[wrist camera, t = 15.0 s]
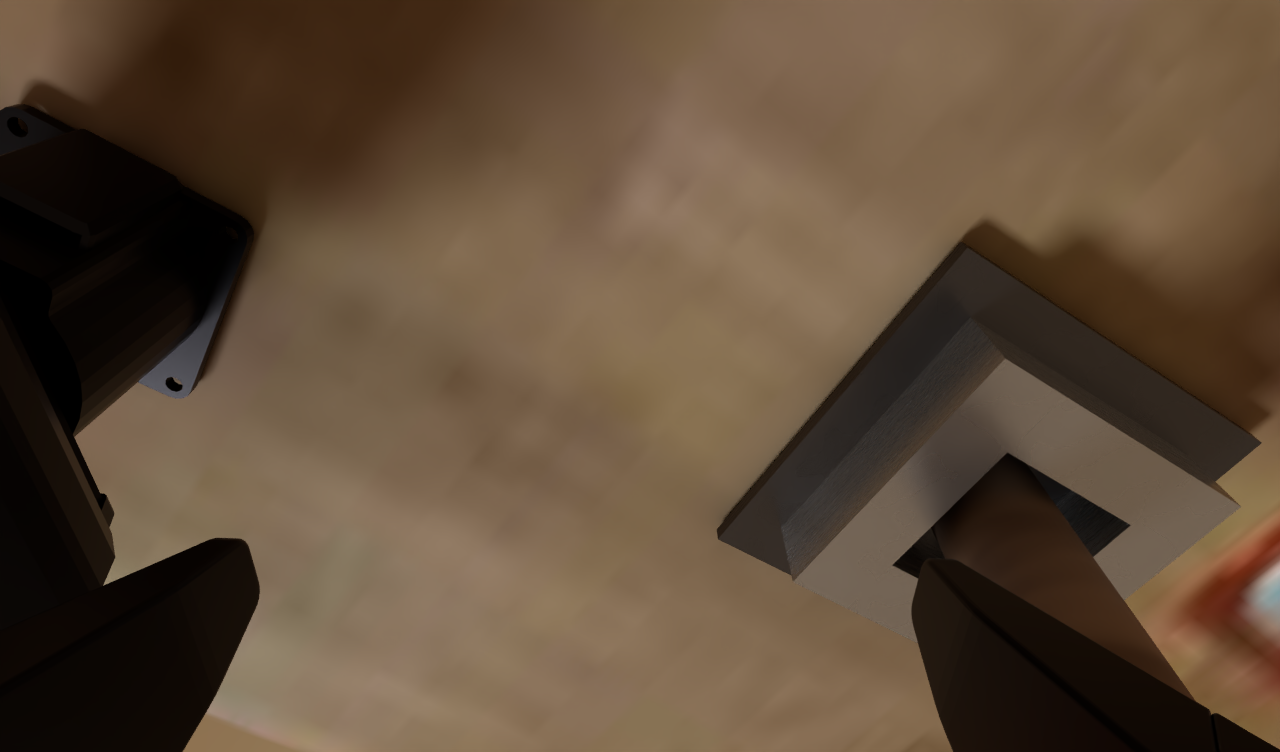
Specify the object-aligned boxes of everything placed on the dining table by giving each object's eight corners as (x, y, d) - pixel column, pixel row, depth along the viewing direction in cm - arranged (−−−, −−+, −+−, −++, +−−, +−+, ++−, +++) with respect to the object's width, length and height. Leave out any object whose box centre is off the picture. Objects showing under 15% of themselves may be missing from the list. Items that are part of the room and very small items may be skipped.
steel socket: (981, 660, 30) (1013, 730, 27) (716, 529, 27) (723, 593, 24) (1250, 433, 25) (1322, 493, 22) (961, 241, 22) (1003, 283, 19)
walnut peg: (958, 551, 26) (1302, 1239, 12) (899, 489, 25) (1207, 1174, 11) (1053, 495, 25) (1550, 1185, 11) (996, 427, 24) (1475, 1107, 10)
